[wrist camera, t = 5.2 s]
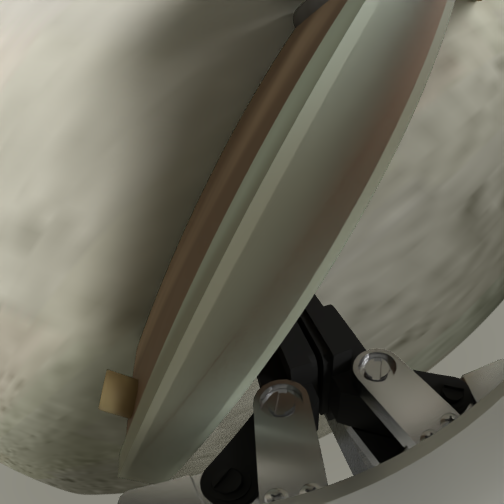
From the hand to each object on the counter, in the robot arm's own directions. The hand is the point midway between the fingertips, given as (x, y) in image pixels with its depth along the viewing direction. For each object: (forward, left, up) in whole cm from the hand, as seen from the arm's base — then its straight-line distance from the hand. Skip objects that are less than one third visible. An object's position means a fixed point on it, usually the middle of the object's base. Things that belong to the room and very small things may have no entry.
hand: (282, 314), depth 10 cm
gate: (+1, -5, -2) cm, 6 cm away
